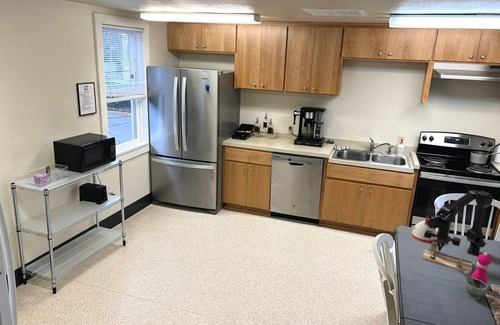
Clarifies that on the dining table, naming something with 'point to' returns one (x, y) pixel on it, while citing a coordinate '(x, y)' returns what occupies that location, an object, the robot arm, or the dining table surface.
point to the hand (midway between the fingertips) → (439, 250)
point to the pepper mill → (482, 267)
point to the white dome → (422, 231)
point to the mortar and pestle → (474, 286)
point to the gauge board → (448, 260)
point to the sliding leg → (433, 248)
